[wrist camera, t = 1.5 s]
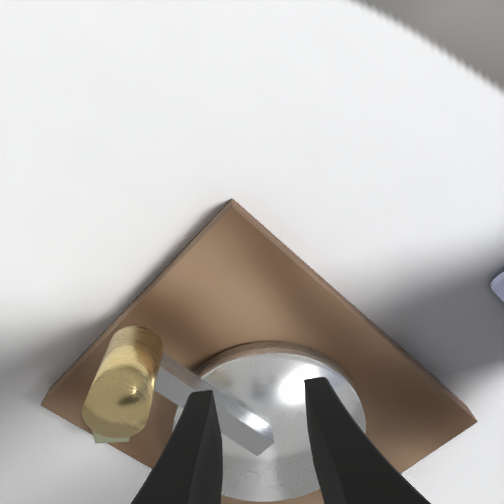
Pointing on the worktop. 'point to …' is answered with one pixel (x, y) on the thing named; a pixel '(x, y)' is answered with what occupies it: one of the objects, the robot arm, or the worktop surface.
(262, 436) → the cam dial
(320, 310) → the brown flat rectangular slab
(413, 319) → the worktop surface
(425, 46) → the worktop surface
